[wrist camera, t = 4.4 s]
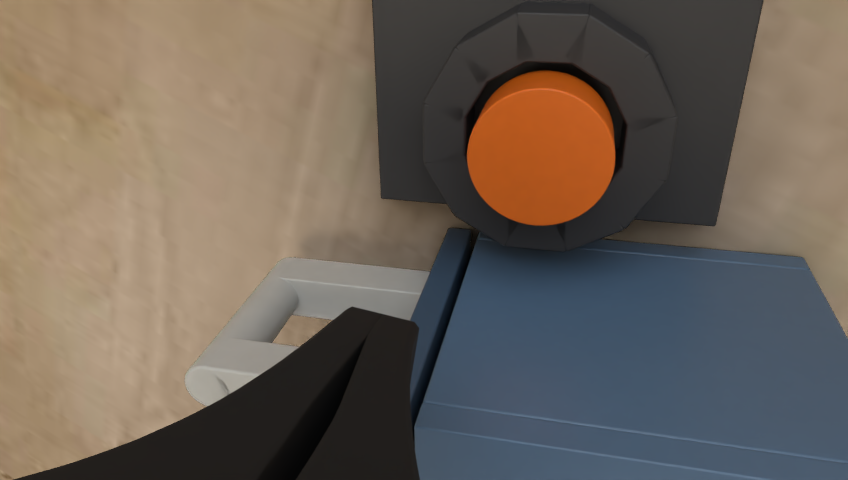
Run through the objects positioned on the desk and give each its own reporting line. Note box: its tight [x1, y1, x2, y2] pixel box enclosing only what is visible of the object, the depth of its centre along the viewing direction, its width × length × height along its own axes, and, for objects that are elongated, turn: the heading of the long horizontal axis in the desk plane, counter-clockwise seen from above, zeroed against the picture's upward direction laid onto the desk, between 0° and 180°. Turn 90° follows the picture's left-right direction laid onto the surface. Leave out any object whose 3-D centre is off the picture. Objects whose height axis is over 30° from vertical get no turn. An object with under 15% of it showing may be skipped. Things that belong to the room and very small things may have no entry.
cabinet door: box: [185, 228, 471, 447], centre depth 23 cm, size 6×14×9 cm, turn 0°
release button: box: [467, 70, 615, 226], centre depth 17 cm, size 4×4×2 cm
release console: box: [372, 0, 763, 252], centre depth 19 cm, size 8×10×3 cm
